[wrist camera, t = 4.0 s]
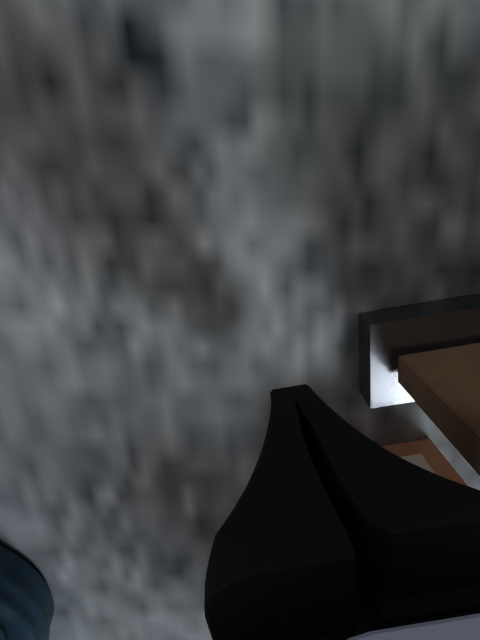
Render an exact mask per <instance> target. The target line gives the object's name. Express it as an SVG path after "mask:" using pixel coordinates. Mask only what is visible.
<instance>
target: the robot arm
mask: <svg viewBox="0 0 480 640" xmlns="http://www.w3.org/2000/svg"><path fill="white" fill-rule="evenodd" d="M270 395H271V413H270V419H269V425H268V429H267V433H266V437H265V441H264V445H263V448H262V451H261V454H260V457H259V459H258V462H257V465H256V467H255V469H254V472H253V474H252V476H251V478H250V480H249V482H248V485H247V487H246V488H245V490H244V492H243V494H242V496H241V497H240V499H239V501H238V503H237V504H236V506H235V508H234V509H233V511H232V512H231V514H230V515H229V517H228V518H227V520H226V521H225V523H224V524H223V525H222V527H221V528H220V530H219V531H218V533H217V534H216V536H215V539H214V543H213V546H212V550H211V554H210V558H209V562H208V568H207V574H206V581H205V605H204V609H205V618H206V621H207V624H208V627H209V630H210V633H211V636H212V639H213V640H480V491H479V490H477V489H474V488H471V487H468V486H466V485H463V484H460V483H458V482H455V481H452V480H449V479H447V478H444V477H441V476H439V475H437V474H435V473H432V472H430V471H428V470H425V469H423V468H421V467H419V466H417V465H415V464H412V463H410V462H408V461H406V460H405V459H403V458H401V457H399V456H397V455H395V454H393V453H391V452H390V451H388V450H386V449H384V448H383V447H381V446H379V445H378V444H376V443H375V442H373V441H372V440H370V439H369V438H367V437H366V436H364V435H363V434H362V433H360V432H359V431H358V430H356V429H355V428H354V427H352V426H351V425H350V424H348V423H347V422H346V421H345V420H344V419H342V418H341V417H340V416H339V415H338V414H337V413H335V412H334V411H333V410H332V409H331V408H330V407H329V406H328V405H327V404H326V403H325V402H323V401H322V400H321V399H320V398H319V397H318V396H317V395H316V394H315V392H314V391H313V390H312V389H311V388H310V387H309V386H308V385H306V384H304V385H298V386H292V387H286V388H280V389H274V390H272V391H271V392H270Z"/></svg>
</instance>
